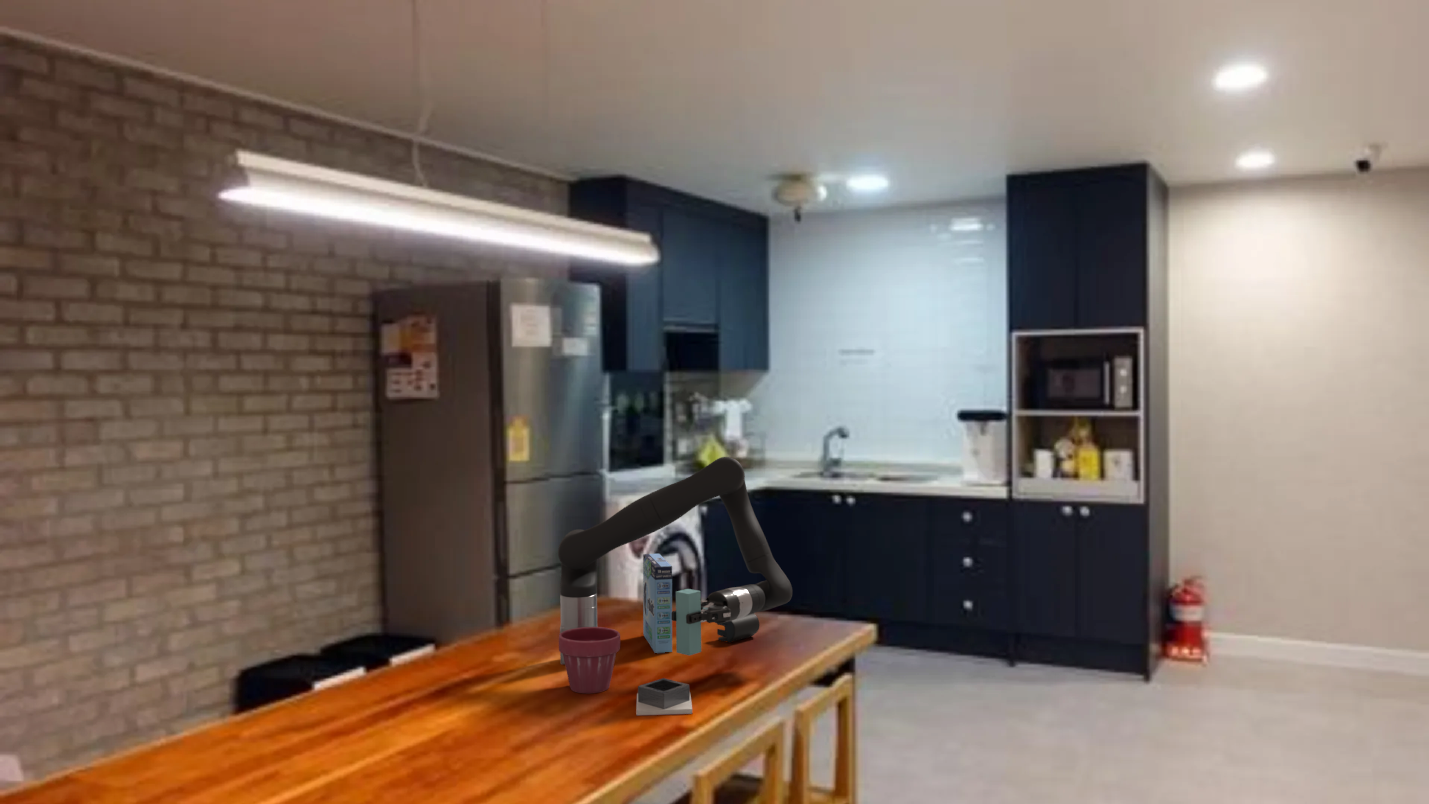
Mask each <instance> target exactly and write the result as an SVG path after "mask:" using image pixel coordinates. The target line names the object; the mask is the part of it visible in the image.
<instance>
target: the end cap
mask: <svg viewBox="0 0 1429 804" xmlns="http://www.w3.org/2000/svg"><path fill="white" fill-rule="evenodd" d="M716 625H719V626H723V627H724V629H721V628H717V629H716V630H717V633H716V634H717V635H718V636H719V637H717V638H718V641H720V640H721V642H724V641H728V642H729V643H732V641H733V642H736V641H739V640H743V639H747V638H752V637H753V636H755V635H756V634H757V633H758V632H759V630H760V619H759V617H758V615H756V613H753V614H749V615H746V616H744V617H742V618H739V619H736V620H732V621H729V622H725V623H722V624H717V623H716ZM728 642H727V643H728Z"/></svg>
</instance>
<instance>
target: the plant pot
mask: <svg viewBox="0 0 1429 804" xmlns="http://www.w3.org/2000/svg"><path fill="white" fill-rule="evenodd" d="M620 650H621V634H620V632H619V631H618V630H617V629H614V628H608V627H603V626H597V627H582V628H574V629H569V630H566V631H563V632H561V633H560V632H559V635H558V651H559V653H560V652H561V653H562V654H563V657H564V662H565V664H564V665H565V666H564V667H565V671H566V675H567V678H568V684H569V688H570V690H571V691H573V692H575V693H579V694H596V693H597V694H598V693H602V692H604V691H607V690H608V689H610V685H611V681H612V676H613V673H614V672H613V671H614V665H615V661H616V657H617V656H616V655H617V652H619V651H620Z"/></svg>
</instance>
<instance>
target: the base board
mask: <svg viewBox="0 0 1429 804" xmlns="http://www.w3.org/2000/svg"><path fill="white" fill-rule="evenodd" d="M635 709H636V711H635V713H636V716H657V715H658V716H660V715H663V716H664V715H685V714H686V715H687V714H688V715H690V714H691V715H692V714H693V703H692V697H691V694H690V700H689V701H687V702H684V703H681V704H678V705H675V706H672V707H670V708H667V709H661V708H658V707H654V706H651V705H647V704H644V703H640V702H638V693H636V708H635Z"/></svg>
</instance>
